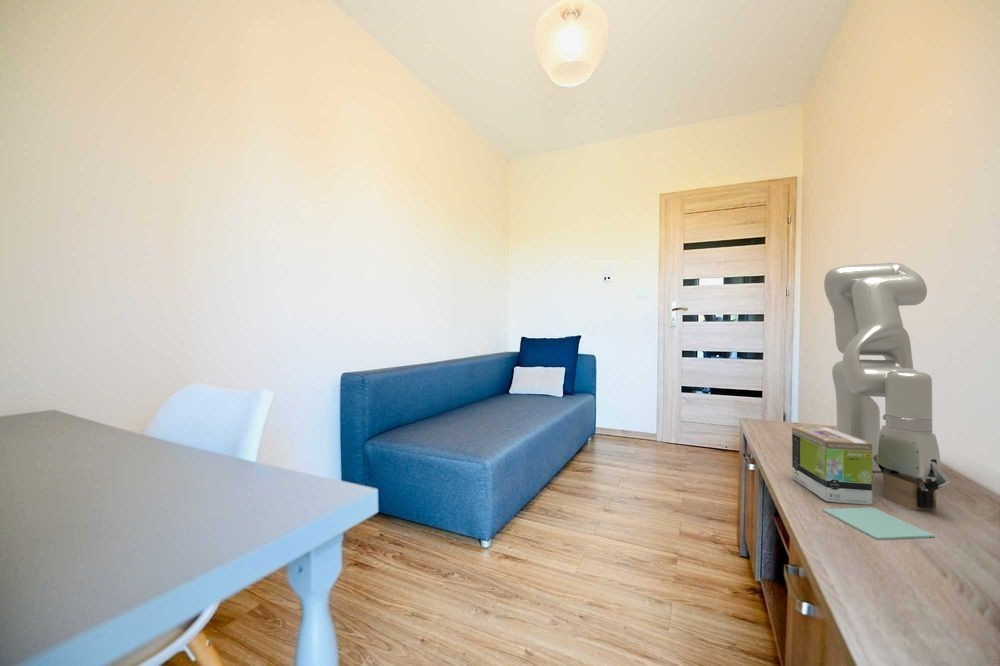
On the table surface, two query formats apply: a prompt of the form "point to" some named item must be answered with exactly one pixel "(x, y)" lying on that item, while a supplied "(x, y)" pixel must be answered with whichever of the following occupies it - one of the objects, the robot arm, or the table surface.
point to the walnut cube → (903, 490)
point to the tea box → (832, 464)
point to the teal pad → (877, 523)
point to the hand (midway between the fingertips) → (908, 500)
